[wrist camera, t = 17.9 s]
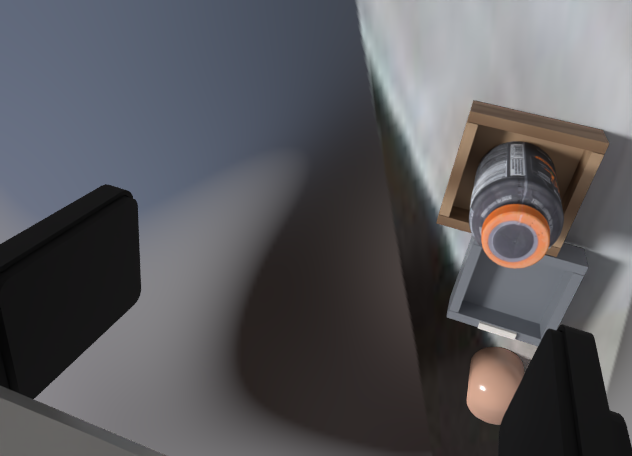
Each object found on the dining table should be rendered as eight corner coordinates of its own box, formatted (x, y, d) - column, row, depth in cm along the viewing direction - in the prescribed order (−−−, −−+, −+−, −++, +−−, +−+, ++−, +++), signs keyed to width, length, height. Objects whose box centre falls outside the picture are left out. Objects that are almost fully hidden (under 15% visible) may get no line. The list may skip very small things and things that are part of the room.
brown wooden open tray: (473, 100, 40) (470, 111, 38) (602, 130, 38) (609, 143, 36) (440, 207, 45) (436, 223, 43) (553, 238, 43) (556, 257, 41)
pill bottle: (562, 200, 41) (577, 276, 31) (486, 215, 43) (478, 290, 34) (546, 129, 39) (556, 188, 29) (467, 150, 41) (453, 210, 32)
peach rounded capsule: (479, 340, 50) (476, 375, 46) (531, 357, 49) (533, 395, 45) (464, 376, 53) (460, 412, 49) (513, 393, 52) (514, 432, 48)
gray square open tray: (477, 219, 45) (475, 237, 42) (583, 248, 43) (588, 269, 40) (449, 298, 49) (446, 319, 46) (544, 327, 47) (546, 351, 45)
